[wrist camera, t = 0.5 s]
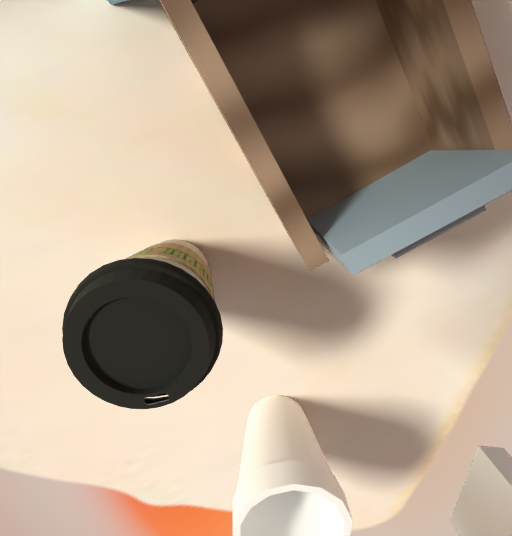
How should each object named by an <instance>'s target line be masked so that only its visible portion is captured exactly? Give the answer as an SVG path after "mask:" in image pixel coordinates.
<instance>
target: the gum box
mask: <svg viewBox="0 0 512 536" xmlns="http://www.w3.org/2000/svg"><path fill="white" fill-rule="evenodd" d="M107 1H108V2H109V3H110V4H112V5H113V4H117V3H120V2H124V1H128V0H107Z"/></svg>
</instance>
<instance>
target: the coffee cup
mask: <svg viewBox="0 0 512 536" xmlns="http://www.w3.org/2000/svg"><path fill="white" fill-rule="evenodd" d="M62 329H63V349H64V354H65V357H66V360H67V363H68V366H69V367H70V369H71V371H72V373H73V374H74V376H75V377H76V378H77V380H78V381H79V382H80V383H81V384H82V385H83V386H84V387H85V388H86V389H87V390H89V391H90V392H91V393H92V394H94V395H95V396H97V397H99V398H101V399H102V400H104V401H106V402H109V403H111V404H114V405H117V406H121V407H126V408H131V409H149V408H156V407H161V406H164V405H167V404H170V403H173V402H175V401H176V400H178V399H180V398H182V397H184V396H185V395H186V394H187V393H188V392H190V391H191V390H193V389H194V388H195V387H196V386H197V385H199V384H200V383H201V382H202V381H203V380H204V379H205V377H206V376H207V375H208V374H209V372H210V371H211V370H212V368H213V366H214V364H215V362H216V360H217V358H218V356H219V353H220V349H221V345H222V336H223V327H222V322H221V316H220V313H219V310H218V308H217V306H216V303H215V298H214V292H213V285H212V279H211V273H210V271H209V266H208V262H207V260H206V257H205V256H204V254H203V253H202V252H201V251H200V250H199V249H198V248H197V247H196V246H194V245H193V244H191V243H189V242H187V241H183V240H167V241H164V242H161V243H159V244H156V245H153V246H150V247H148V248H146V249H144V250H142V251H140V252H138V253H136V254H134V255H132V256H130V257H128V258H126V259H123V260H118V261H115V262H112V263H109V264H106V265H103V266H102V267H100V268H98V269H97V270H95V271H94V272H92V273H90V274H89V275H88V276H87V277H86V278H85V279H84V280H83V281H82V282H81V283H80V284H79V285H78V287H77V288H76V290H75V291H74V293H73V294H72V296H71V298H70V299H69V302H68V305H67V307H66V310H65V313H64V320H63V328H62ZM162 395H169V396H168V397H161V398H146V397H155V396H162Z"/></svg>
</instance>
